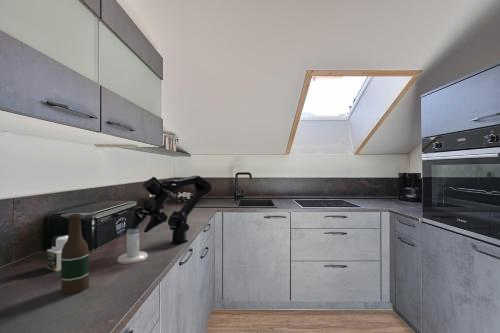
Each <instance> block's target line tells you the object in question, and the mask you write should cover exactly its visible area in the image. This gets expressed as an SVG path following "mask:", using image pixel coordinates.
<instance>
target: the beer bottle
mask: <svg viewBox="0 0 500 333" xmlns="http://www.w3.org/2000/svg"><path fill="white" fill-rule="evenodd" d="M82 218H83V217H82V214H81V213H72V214H68V218H67V219H68V220H69V221H68V234H67V235H68V240H67V241H66V243H65V244H64V246H63V249H62V254H61V270H60V273H61V274H60V275H61V276H60V278H61V279H60V280H61V283H60V285H61V286H60V287H61V294H62V295H69V296H71V295H75V294H80V293H82V292H83V291H85V290H88V289H89V287H90V252H89V246H88V243H87V241H86V240H85V239H84V238H83V233H82V222H81V221H82V220H81V219H82Z"/></svg>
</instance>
